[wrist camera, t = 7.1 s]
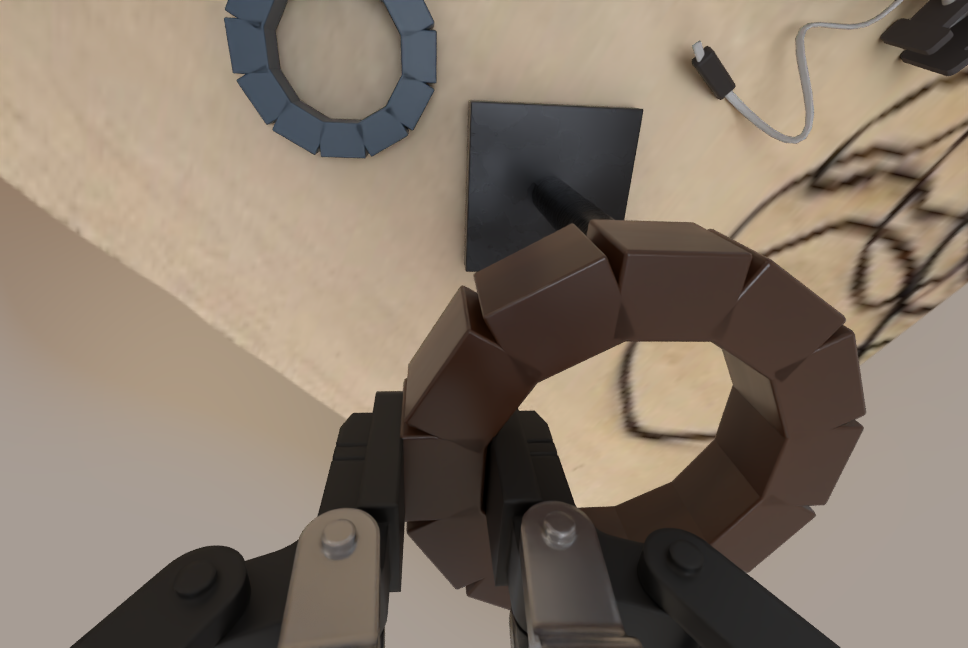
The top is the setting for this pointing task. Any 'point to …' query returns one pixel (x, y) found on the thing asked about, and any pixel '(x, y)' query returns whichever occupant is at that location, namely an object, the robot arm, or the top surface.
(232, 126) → the top surface
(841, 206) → the top surface
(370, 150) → the slate ring
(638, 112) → the stand
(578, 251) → the walnut ring
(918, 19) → the clip-on lamp
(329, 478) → the robot arm
